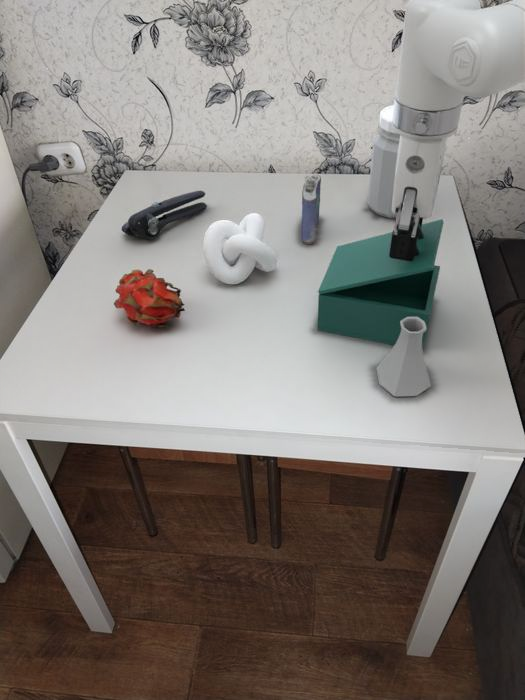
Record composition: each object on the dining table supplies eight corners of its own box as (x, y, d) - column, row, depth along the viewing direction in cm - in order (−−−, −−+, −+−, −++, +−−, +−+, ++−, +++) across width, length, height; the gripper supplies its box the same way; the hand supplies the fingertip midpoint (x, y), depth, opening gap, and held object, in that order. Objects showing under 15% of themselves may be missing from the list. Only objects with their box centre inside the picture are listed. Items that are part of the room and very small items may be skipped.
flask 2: (315, 245, 104) (316, 190, 97) (298, 244, 105) (298, 189, 98) (320, 217, 111) (322, 164, 104) (305, 216, 111) (305, 163, 104)
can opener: (140, 251, 105) (134, 224, 101) (119, 235, 109) (113, 208, 105) (218, 213, 113) (215, 187, 109) (196, 200, 117) (193, 174, 113)
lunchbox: (432, 301, 92) (440, 265, 88) (422, 350, 85) (430, 315, 80) (335, 284, 96) (337, 249, 92) (317, 330, 89) (318, 295, 84)
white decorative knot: (293, 264, 101) (293, 218, 95) (253, 302, 94) (251, 255, 88) (240, 244, 106) (236, 199, 99) (198, 279, 99) (191, 234, 92)
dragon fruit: (123, 309, 96) (186, 339, 93) (92, 312, 88) (159, 345, 85) (139, 260, 94) (203, 289, 91) (109, 259, 86) (178, 290, 83)
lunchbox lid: (443, 222, 83) (433, 194, 80) (433, 270, 75) (421, 240, 73) (338, 249, 92) (326, 224, 89) (319, 294, 84) (306, 269, 81)
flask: (440, 390, 79) (454, 336, 72) (391, 404, 78) (400, 350, 71) (414, 354, 84) (425, 300, 77) (367, 367, 83) (374, 313, 76)
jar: (415, 223, 108) (431, 128, 96) (362, 216, 111) (371, 122, 98) (421, 197, 115) (437, 104, 102) (371, 191, 117) (381, 99, 105)
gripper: (451, 151, 61) (424, 288, 74) (466, 88, 73) (440, 216, 85) (379, 143, 63) (365, 277, 76) (404, 83, 75) (388, 209, 87)
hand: (405, 244), depth 80 cm, fingers open, 5 cm apart
